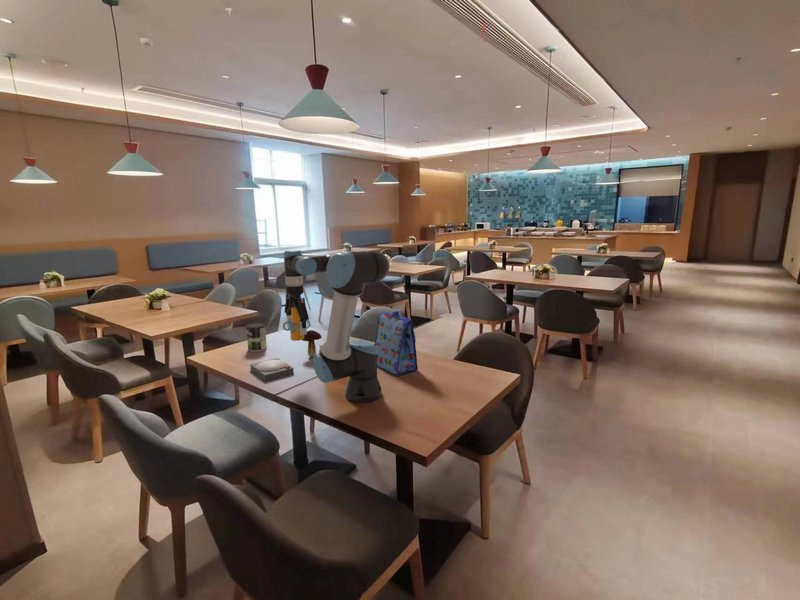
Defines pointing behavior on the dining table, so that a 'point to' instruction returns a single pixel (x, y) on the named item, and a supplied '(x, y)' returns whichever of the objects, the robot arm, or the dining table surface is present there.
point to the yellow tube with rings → (295, 325)
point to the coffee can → (256, 337)
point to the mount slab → (271, 369)
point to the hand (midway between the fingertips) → (297, 331)
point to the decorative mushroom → (311, 341)
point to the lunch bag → (395, 344)
